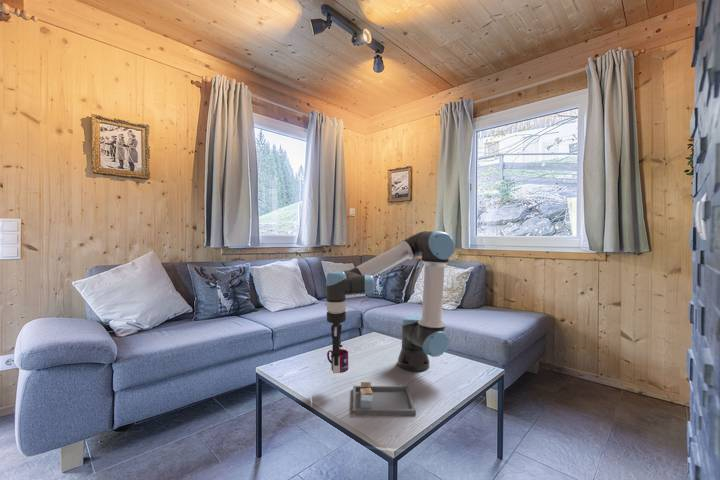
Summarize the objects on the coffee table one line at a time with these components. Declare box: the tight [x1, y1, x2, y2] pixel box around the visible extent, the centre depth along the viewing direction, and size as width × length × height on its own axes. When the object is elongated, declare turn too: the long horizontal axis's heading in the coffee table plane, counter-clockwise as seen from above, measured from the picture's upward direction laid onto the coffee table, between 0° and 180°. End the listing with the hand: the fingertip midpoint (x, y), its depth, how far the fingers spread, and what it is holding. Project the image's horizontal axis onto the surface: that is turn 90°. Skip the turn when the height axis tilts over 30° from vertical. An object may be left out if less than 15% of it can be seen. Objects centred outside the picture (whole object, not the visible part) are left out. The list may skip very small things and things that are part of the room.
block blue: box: [361, 395, 373, 409], centre depth 118 cm, size 4×4×4 cm
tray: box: [352, 385, 417, 416], centre depth 123 cm, size 22×18×2 cm
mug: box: [326, 348, 349, 374], centre depth 131 cm, size 7×10×7 cm
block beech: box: [360, 388, 373, 400], centre depth 123 cm, size 4×4×4 cm
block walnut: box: [360, 381, 372, 389], centre depth 128 cm, size 4×4×4 cm
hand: (337, 368), depth 130 cm, fingers closed on mug, 7 cm apart
